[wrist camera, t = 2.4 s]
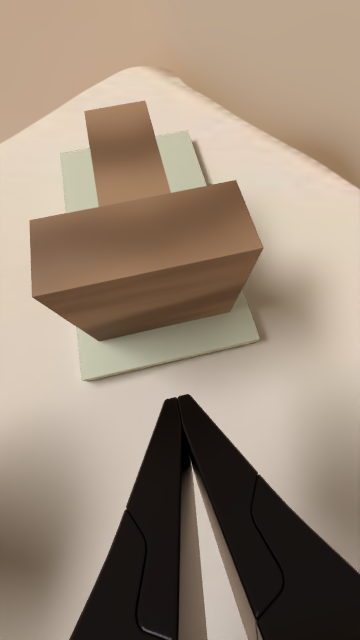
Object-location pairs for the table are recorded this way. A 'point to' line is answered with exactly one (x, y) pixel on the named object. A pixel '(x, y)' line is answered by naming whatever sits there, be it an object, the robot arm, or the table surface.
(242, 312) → the board
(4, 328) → the table surface
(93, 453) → the table surface
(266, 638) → the robot arm
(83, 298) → the t block
